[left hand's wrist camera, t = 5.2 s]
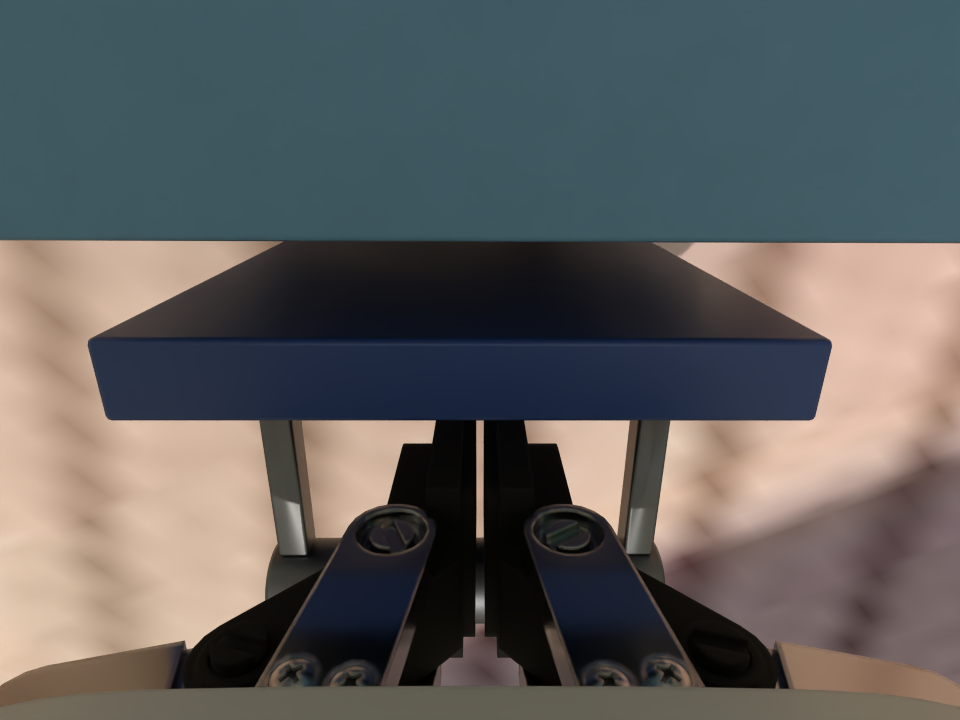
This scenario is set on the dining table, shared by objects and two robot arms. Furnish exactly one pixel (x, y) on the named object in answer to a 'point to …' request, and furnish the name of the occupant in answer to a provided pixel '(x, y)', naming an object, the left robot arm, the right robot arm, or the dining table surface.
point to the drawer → (459, 357)
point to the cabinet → (481, 120)
